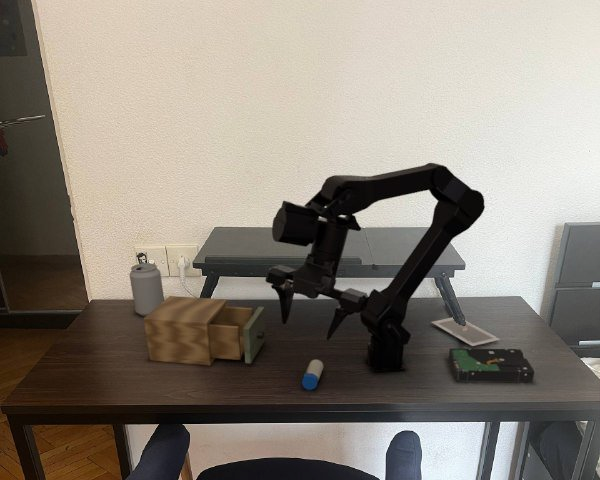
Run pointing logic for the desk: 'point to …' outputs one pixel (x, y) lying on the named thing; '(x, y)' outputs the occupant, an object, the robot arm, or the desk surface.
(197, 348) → the cabinet
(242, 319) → the drawer
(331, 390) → the desk surface
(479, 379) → the disk drive
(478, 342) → the touchpad
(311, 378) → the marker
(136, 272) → the can
